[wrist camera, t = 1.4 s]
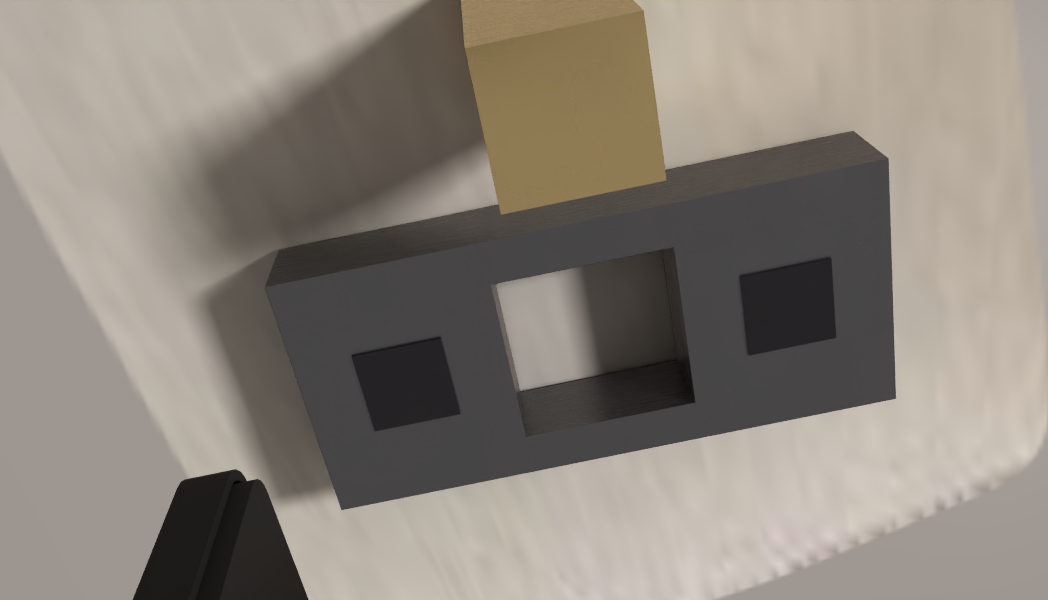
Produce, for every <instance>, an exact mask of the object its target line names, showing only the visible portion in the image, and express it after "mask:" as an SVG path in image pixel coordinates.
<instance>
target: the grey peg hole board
mask: <svg viewBox="0 0 1048 600" xmlns="http://www.w3.org/2000/svg"><path fill="white" fill-rule="evenodd" d="M665 172H666V179H667V180H666V181H661V182H656V183H652V184H647V185H642V186H637V187H632V188H627V189H623V190H618V191H613V192H608V193H603V194H599V195H594V196H589V197H584V198H579V199H574V200H570V201H565V202H560V203H555V204H550V205H545V206H541V207H536V208H531V209H526V210H521V211H516V212H512V213H507V214H502V215H501V212H500V208H499V205H494V206H489V207H484V208H480V209H475V210H470V211H465V212H460V213H456V214H451V215H446V216H441V217H436V218H431V219H427V220H422V221H417V222H412V223H407V224H402V225H398V226H393V227H388V228H383V229H378V230H374V231H369V232H364V233H359V234H354V235H349V236H345V237H340V238H335V239H330V240H325V241H320V242H316V243H311V244H306V245H301V246H296V247H292V248H287V249H282V250H279V252H278V254H277V257H276V259H275V262H274V265H273V267H272V270H271V273H270V275H269V278H268V280H267V283H266V286H265V289H266V292H267V295H268V298H269V301H270V304H271V306H272V309H273V312H274V315H275V318H276V321H277V324H278V327H279V330H280V333H281V335H282V338H283V341H284V344H285V347H286V350H287V353H288V356H289V359H290V362H291V365H292V367H293V370H294V373H295V376H296V379H297V382H298V385H299V388H300V391H301V394H302V396H303V399H304V402H305V405H306V408H307V411H308V414H309V417H310V420H311V423H312V425H313V428H314V431H315V434H316V437H317V440H318V443H319V446H320V449H321V452H322V454H323V457H324V460H325V463H326V466H327V469H328V472H329V475H330V478H331V481H332V483H333V486H334V489H335V492H336V495H337V498H338V501H339V504H340V507H341V510H344V509H349V508H354V507H359V506H364V505H369V504H374V503H379V502H384V501H389V500H394V499H399V498H404V497H409V496H414V495H419V494H424V493H429V492H434V491H439V490H444V489H449V488H454V487H459V486H464V485H469V484H474V483H479V482H484V481H489V480H493V479H498V478H503V477H508V476H513V475H518V474H523V473H528V472H533V471H538V470H543V469H548V468H553V467H558V466H563V465H568V464H573V463H578V462H583V461H588V460H593V459H598V458H603V457H608V456H613V455H618V454H623V453H628V452H633V451H638V450H643V449H648V448H653V447H658V446H663V445H668V444H673V443H677V442H682V441H687V440H692V439H697V438H702V437H707V436H712V435H717V434H722V433H727V432H732V431H737V430H742V429H747V428H752V427H757V426H762V425H767V424H772V423H777V422H782V421H787V420H792V419H797V418H802V417H807V416H812V415H817V414H822V413H827V412H832V411H837V410H842V409H847V408H852V407H857V406H862V405H866V404H871V403H876V402H881V401H886V400H891V399H896V388H895V356H894V323H893V291H892V259H891V226H890V194H889V161H888V158H887V157H886V156H885V155H883V154H882V153H881V152H879V151H878V150H877V149H876V148H874V147H873V146H872V145H871V144H869V143H868V142H867V141H865V140H864V139H863V138H862V137H860V136H859V135H858V134H857V133H855V132H854V131H851V132H846V133H842V134H837V135H832V136H827V137H822V138H817V139H813V140H808V141H803V142H798V143H793V144H788V145H784V146H779V147H774V148H769V149H764V150H759V151H755V152H750V153H745V154H740V155H735V156H731V157H726V158H721V159H716V160H711V161H706V162H702V163H697V164H692V165H687V166H682V167H677V168H673V169H668V170H665ZM657 250H662V255H663V262H664V269H665V276H666V283H667V290H668V297H669V304H670V311H671V318H672V325H673V332H674V339H675V346H676V353H677V360H676V361H671V362H666V363H661V364H656V365H651V366H646V367H641V368H637V369H632V370H627V371H622V372H617V373H612V374H607V375H602V376H597V377H592V378H587V379H582V380H577V381H572V382H568V383H563V384H558V385H553V386H548V387H543V388H538V389H533V390H528V391H523V392H520V388H519V384H518V380H517V375H516V371H515V366H514V362H513V358H512V353H511V349H510V345H509V340H508V336H507V332H506V327H505V323H504V318H503V314H502V310H501V305H500V301H499V297H498V292H497V288H496V284H497V283H501V282H506V281H511V280H516V279H521V278H526V277H531V276H536V275H540V274H545V273H550V272H555V271H560V270H565V269H570V268H574V267H579V266H584V265H589V264H594V263H599V262H604V261H609V260H613V259H618V258H623V257H628V256H633V255H638V254H643V253H647V252H652V251H657Z"/></svg>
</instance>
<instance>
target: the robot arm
mask: <svg viewBox="0 0 1048 600" xmlns="http://www.w3.org/2000/svg"><path fill="white" fill-rule="evenodd" d="M133 600H308V597H307V595H306V592H305V589H304V587H303V584H302V582H301V579H300V576H299V574H298V571H297V568H296V566H295V563H294V561H293V558H292V555H291V553H290V550H289V547H288V545H287V542H286V540H285V537H284V534H283V532H282V529H281V526H280V524H279V521H278V519H277V516H276V513H275V511H274V508H273V506H272V503H271V500H270V498H269V495H268V492H267V490H266V488H265V486H264V484H263V483H262V482H261V480H258V479H256V480H251V481H246V479H245V477H244V475H243V474H242V473H241V472H240V471H238V470H236V469H235V470H230V471H225V472H220V473H215V474H210V475H206V476H201V477H196V478H191V479H186V480H184V481H182V482H181V483H180V484H179V486H178V488H177V490H176V493H175V495H174V498H173V500H172V503H171V505H170V508H169V510H168V513H167V515H166V518H165V520H164V523H163V525H162V528H161V530H160V533H159V535H158V538H157V540H156V543H155V545H154V548H153V550H152V553H151V555H150V558H149V560H148V563H147V565H146V568H145V570H144V573H143V576H142V578H141V580H140V583H139V585H138V588H137V590H136V593H135V595H134V598H133Z"/></svg>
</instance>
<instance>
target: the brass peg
mask: <svg viewBox="0 0 1048 600" xmlns="http://www.w3.org/2000/svg"><path fill="white" fill-rule="evenodd" d="M461 9H462V21H463V34H464V46H465V52H466V57H467V61H468V66H469V70H470V75H471V80H472V84H473V89H474V93H475V98H476V102H477V107H478V112H479V116H480V121H481V125H482V130H483V135H484V139H485V144H486V148H487V153H488V157H489V162H490V167H491V171H492V176H493V180H494V185H495V189H496V194H497V199H498V203H499V208H500V212H501V215H502V214H507V213H512V212H516V211H521V210H526V209H531V208H536V207H541V206H545V205H550V204H555V203H560V202H565V201H570V200H574V199H579V198H584V197H589V196H594V195H599V194H603V193H608V192H613V191H618V190H623V189H627V188H632V187H637V186H642V185H647V184H652V183H656V182H661V181H666V180H667V179H666V172H665V165H664V157H663V150H662V143H661V135H660V128H659V121H658V113H657V106H656V99H655V91H654V84H653V77H652V69H651V62H650V55H649V47H648V40H647V33H646V25H645V18H644V10H643V9H642V8H641V7H640V6H639V5H638V4H637V3H636V2H635V1H634V0H461Z"/></svg>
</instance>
